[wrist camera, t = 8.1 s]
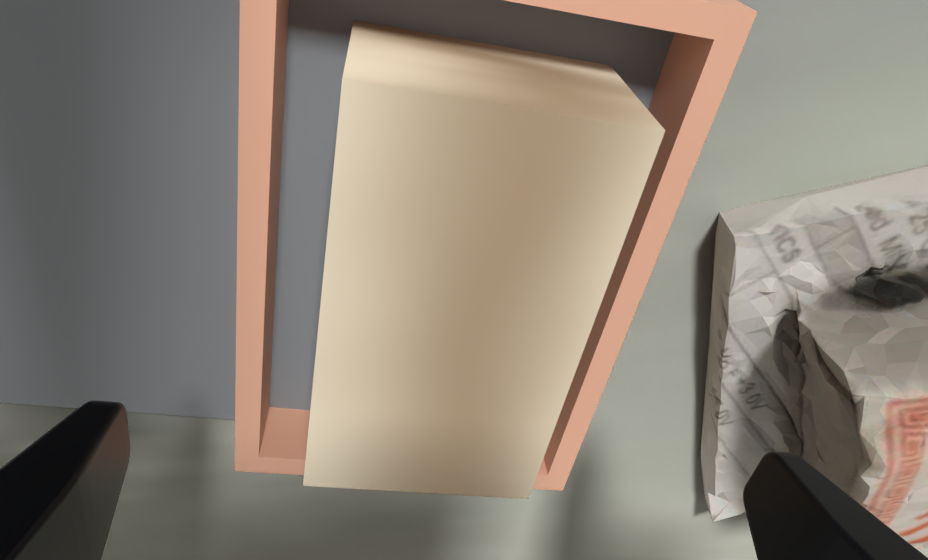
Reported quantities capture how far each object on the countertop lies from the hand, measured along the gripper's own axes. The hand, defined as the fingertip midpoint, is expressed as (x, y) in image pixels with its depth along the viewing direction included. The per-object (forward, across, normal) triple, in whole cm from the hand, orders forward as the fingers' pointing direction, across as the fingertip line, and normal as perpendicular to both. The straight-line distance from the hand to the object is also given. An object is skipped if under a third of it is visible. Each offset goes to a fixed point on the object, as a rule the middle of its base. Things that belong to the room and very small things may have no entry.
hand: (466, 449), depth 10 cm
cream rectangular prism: (+5, 0, 0) cm, 5 cm away
